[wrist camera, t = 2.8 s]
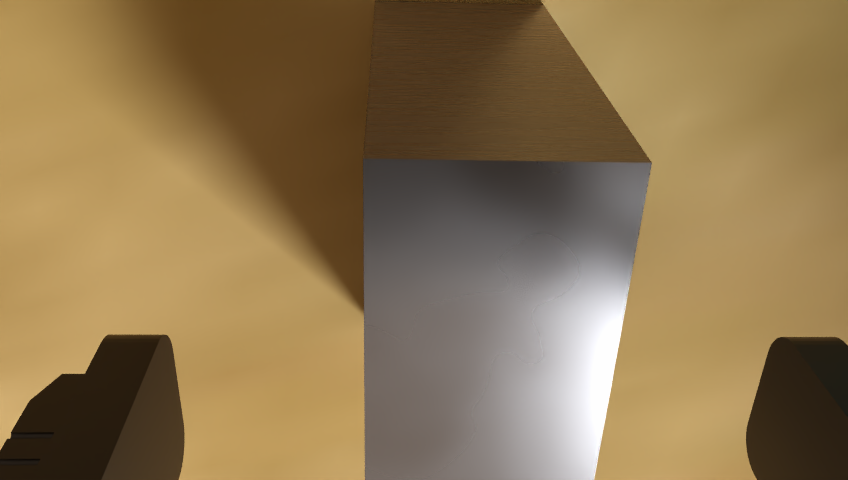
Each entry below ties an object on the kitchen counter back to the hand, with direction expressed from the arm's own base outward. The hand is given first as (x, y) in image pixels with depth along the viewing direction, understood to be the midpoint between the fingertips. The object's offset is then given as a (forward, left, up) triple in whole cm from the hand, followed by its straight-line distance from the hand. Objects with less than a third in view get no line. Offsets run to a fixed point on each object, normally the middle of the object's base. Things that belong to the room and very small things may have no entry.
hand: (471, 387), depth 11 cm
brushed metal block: (0, 0, -6) cm, 6 cm away
